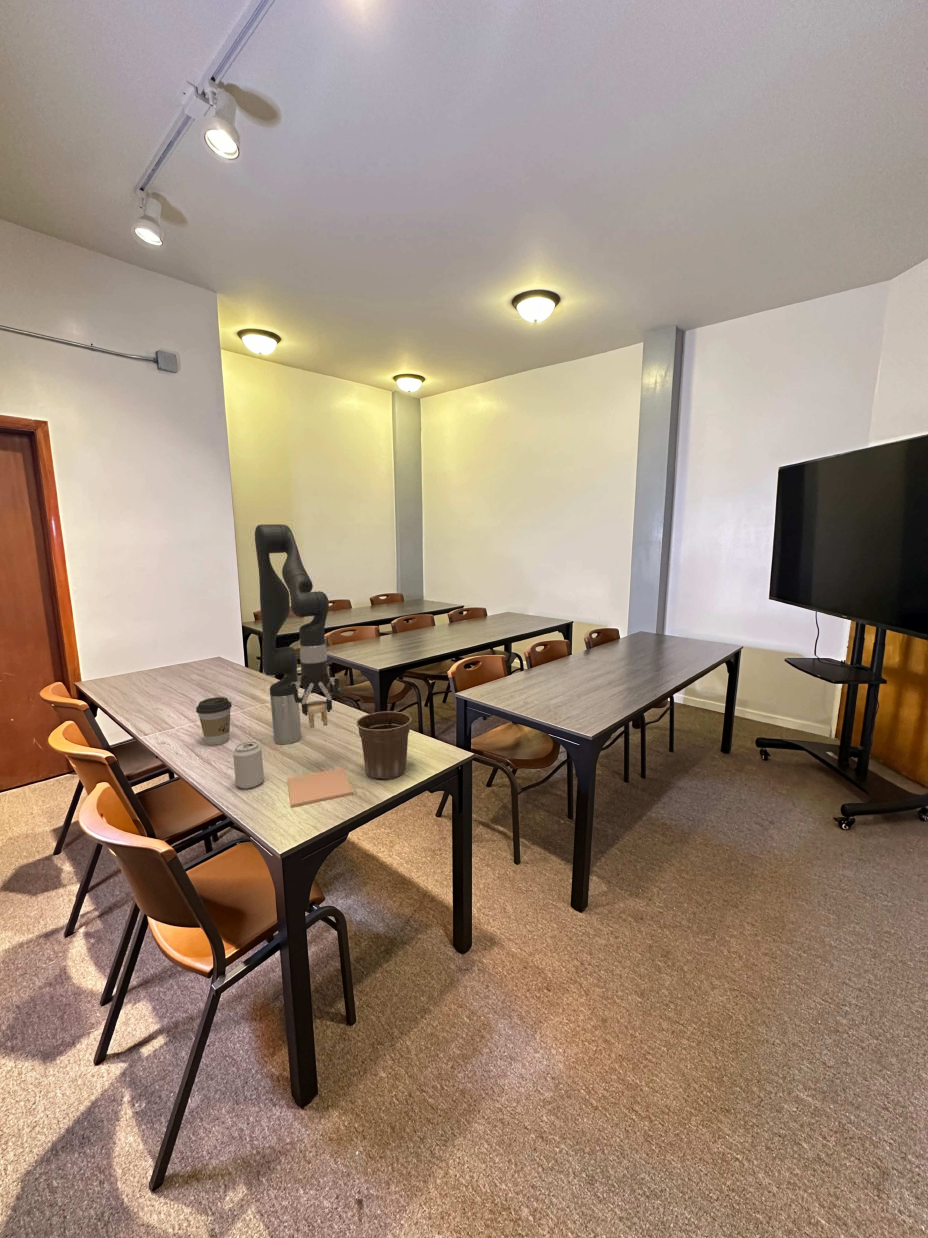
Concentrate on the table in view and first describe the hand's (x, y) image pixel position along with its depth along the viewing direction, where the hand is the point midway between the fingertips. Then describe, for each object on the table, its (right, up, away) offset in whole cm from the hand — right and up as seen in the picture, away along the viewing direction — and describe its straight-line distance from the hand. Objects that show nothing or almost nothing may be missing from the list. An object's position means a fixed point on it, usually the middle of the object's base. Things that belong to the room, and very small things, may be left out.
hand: (317, 713), depth 147 cm
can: (-18, -20, -6) cm, 27 cm away
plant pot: (+21, -18, +1) cm, 27 cm away
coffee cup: (-43, -15, +25) cm, 52 cm away
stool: (0, -3, +1) cm, 3 cm away
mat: (+3, -19, -9) cm, 22 cm away
